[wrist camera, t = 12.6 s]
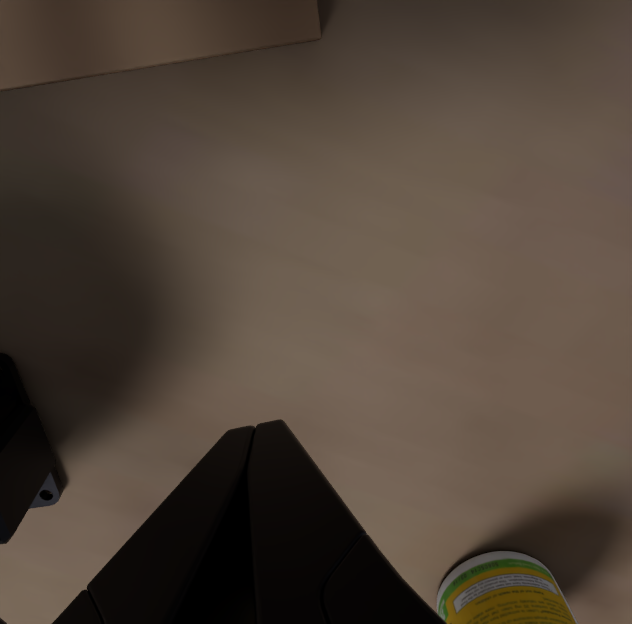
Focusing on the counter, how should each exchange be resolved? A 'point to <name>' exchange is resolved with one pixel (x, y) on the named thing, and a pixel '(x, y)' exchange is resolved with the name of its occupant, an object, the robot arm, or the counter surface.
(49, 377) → the counter surface
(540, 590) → the supplement bottle
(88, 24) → the board
